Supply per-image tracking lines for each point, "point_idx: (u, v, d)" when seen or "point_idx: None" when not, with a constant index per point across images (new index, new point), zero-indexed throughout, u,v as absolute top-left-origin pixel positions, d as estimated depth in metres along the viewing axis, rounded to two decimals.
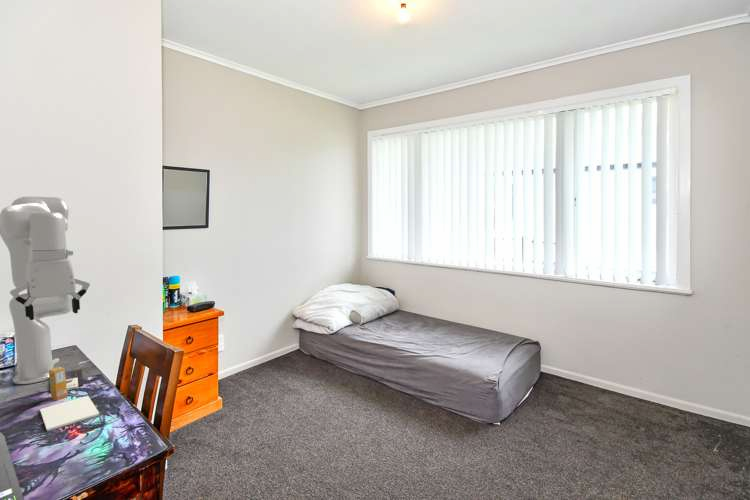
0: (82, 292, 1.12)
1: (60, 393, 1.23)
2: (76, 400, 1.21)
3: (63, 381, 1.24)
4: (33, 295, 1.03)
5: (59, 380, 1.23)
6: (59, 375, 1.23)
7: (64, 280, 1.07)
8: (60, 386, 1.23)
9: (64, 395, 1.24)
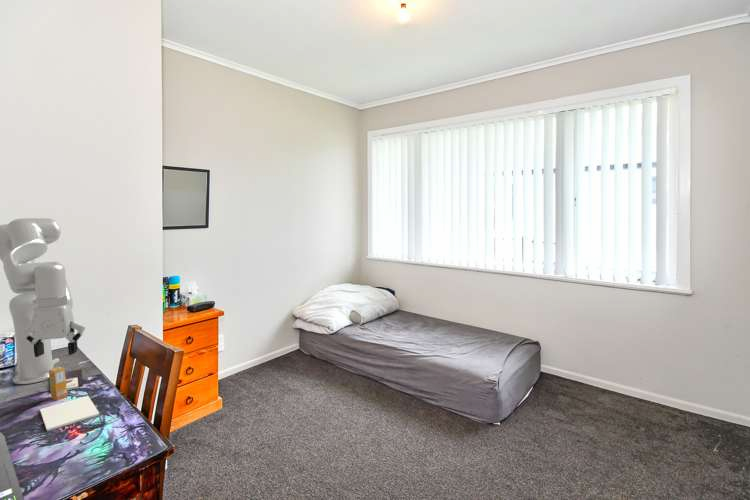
0: None
1: (60, 393, 1.23)
2: (76, 400, 1.21)
3: (63, 381, 1.24)
4: None
5: (59, 380, 1.23)
6: (59, 375, 1.23)
7: None
8: (60, 386, 1.23)
9: (64, 395, 1.24)
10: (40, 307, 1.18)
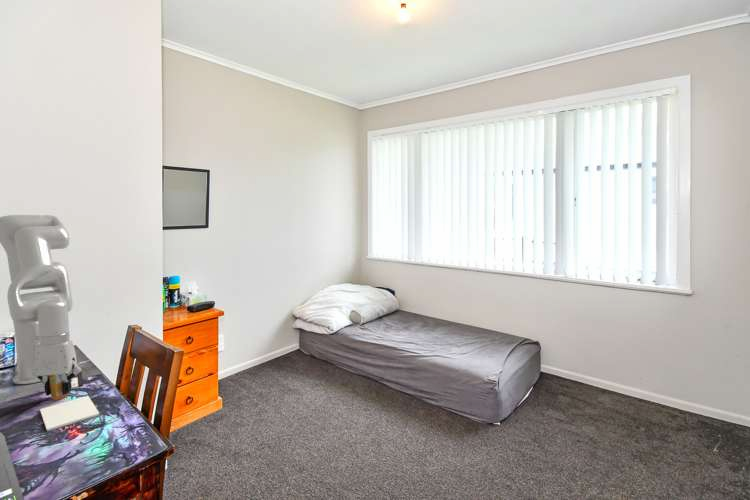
0: None
1: (60, 393, 1.23)
2: (76, 400, 1.21)
3: (63, 381, 1.24)
4: None
5: (59, 380, 1.23)
6: (59, 375, 1.23)
7: None
8: (60, 386, 1.23)
9: (64, 395, 1.24)
10: (43, 345, 1.19)
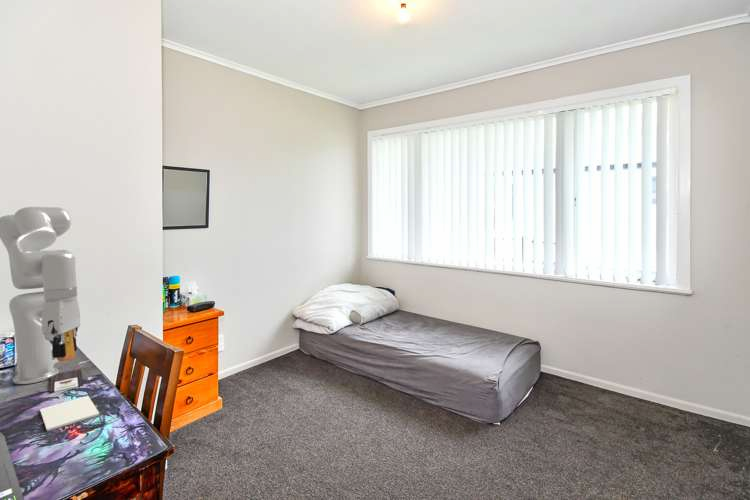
0: (75, 330, 1.17)
1: None
2: (76, 400, 1.21)
3: None
4: (61, 331, 1.09)
5: None
6: None
7: (76, 314, 1.15)
8: None
9: (60, 358, 1.12)
10: None
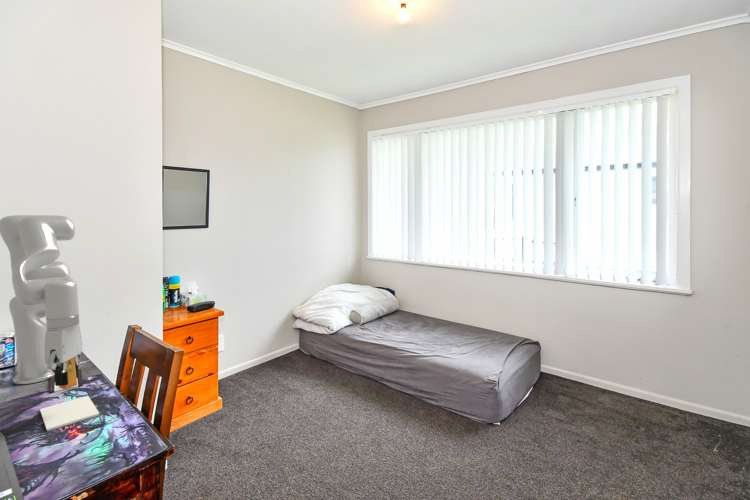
0: (78, 357, 1.18)
1: None
2: (76, 400, 1.21)
3: None
4: (63, 360, 1.09)
5: None
6: None
7: (78, 341, 1.16)
8: None
9: (63, 386, 1.12)
10: None
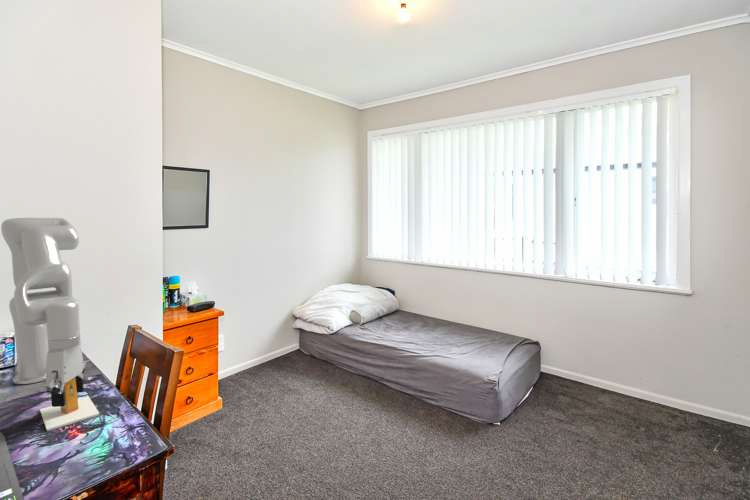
0: (82, 371, 1.20)
1: (62, 406, 1.13)
2: None
3: None
4: (64, 381, 1.10)
5: None
6: None
7: (79, 361, 1.16)
8: None
9: (64, 410, 1.13)
10: None
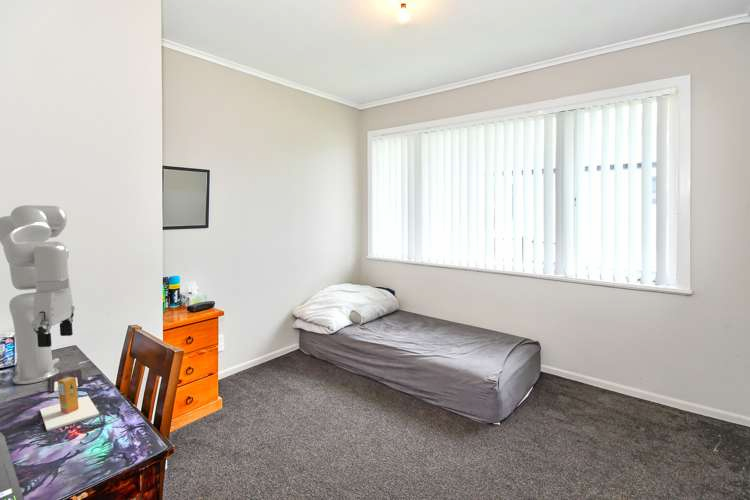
0: (72, 315, 1.21)
1: (62, 406, 1.13)
2: None
3: (63, 395, 1.13)
4: (52, 323, 1.10)
5: (61, 392, 1.13)
6: (60, 387, 1.13)
7: (68, 306, 1.17)
8: (62, 399, 1.13)
9: (64, 410, 1.13)
10: None
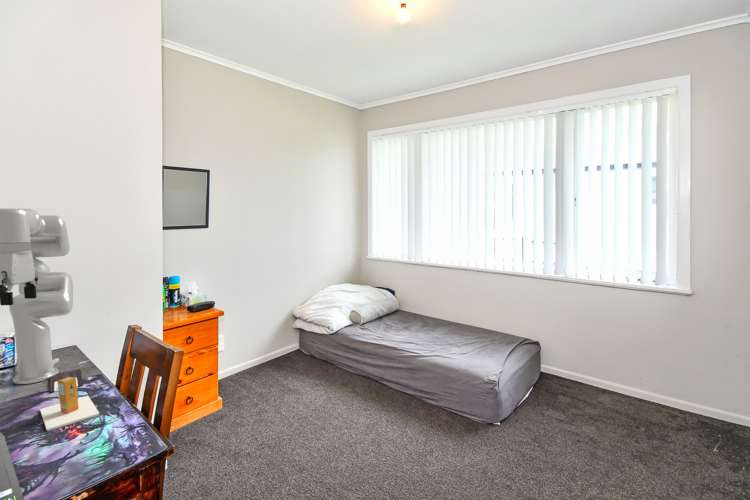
0: (36, 279, 1.27)
1: (62, 406, 1.13)
2: None
3: (63, 395, 1.13)
4: (14, 282, 1.16)
5: (61, 392, 1.13)
6: (60, 387, 1.13)
7: (30, 268, 1.23)
8: (62, 399, 1.13)
9: (64, 410, 1.13)
10: None
